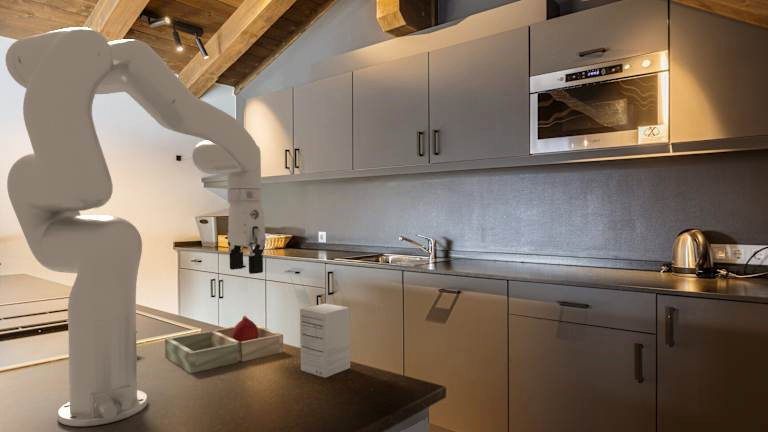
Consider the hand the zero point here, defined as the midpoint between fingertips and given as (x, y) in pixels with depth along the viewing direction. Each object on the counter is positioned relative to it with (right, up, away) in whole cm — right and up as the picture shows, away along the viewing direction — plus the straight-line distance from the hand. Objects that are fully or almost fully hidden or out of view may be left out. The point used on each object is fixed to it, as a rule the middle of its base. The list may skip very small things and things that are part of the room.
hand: (246, 271), depth 112 cm
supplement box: (+20, -19, -14) cm, 31 cm away
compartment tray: (-4, -18, -3) cm, 19 cm away
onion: (0, -19, 0) cm, 19 cm away
